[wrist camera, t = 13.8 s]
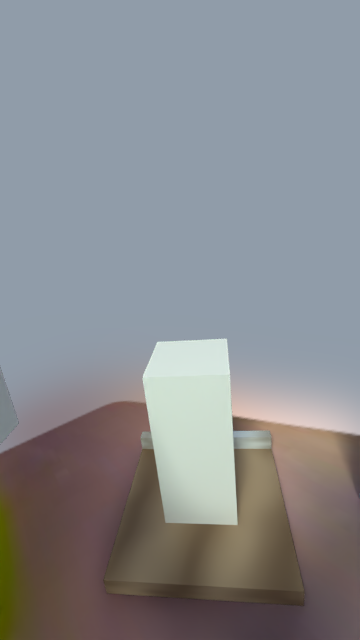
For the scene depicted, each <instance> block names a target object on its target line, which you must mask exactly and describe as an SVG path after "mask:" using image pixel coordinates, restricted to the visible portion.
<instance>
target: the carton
mask: <svg viewBox="0 0 360 640" xmlns="http://www.w3.org/2000/svg"><path fill="white" fill-rule="evenodd" d="M143 384H144V390H145V397H146V403H147V409H148V416H149V422H150V428H151V435H152V441H153V447H154V453H155V460H156V466H157V472H158V479H159V485H160V491H161V497H162V504H163V510H164V516H165V523H189V524H221V525H238V522H237V503H236V483H235V463H234V444H233V424H232V405H231V386H230V370H229V359H228V347H227V339H210V340H190V341H170V342H157V344H156V347H155V349H154V352H153V354H152V357H151V359H150V361H149V363H148V366H147V368H146V370H145V373H144V375H143Z"/></svg>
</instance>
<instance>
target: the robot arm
mask: <svg viewBox="0 0 360 640" xmlns="http://www.w3.org/2000/svg"><path fill="white" fill-rule="evenodd" d="M18 424H19V422H18V418H17V416H16V413H15V410H14V406H13V403H12V400H11V398H10V394H9V391H8V388H7V385H6V382H5V379H4V377H3V373H2V370H1V367H0V444H1V443H2V442H3V441H4V440H5V439H6V437H7V436H8V435H9V434H10V433H11V432H12V431H13V430H14V428H15V427H16V426H17V425H18Z"/></svg>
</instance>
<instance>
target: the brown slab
mask: <svg viewBox="0 0 360 640" xmlns="http://www.w3.org/2000/svg"><path fill="white" fill-rule="evenodd" d="M141 443H142V452H141V456H140V459H139V462H138V466H137V469H136V472H135V476H134V479H133V482H132V486H131V489H130V492H129V496H128V499H127V502H126V506H125V509H124V512H123V516H122V519H121V523H120V526H119V529H118V533H117V536H116V539H115V543H114V546H113V549H112V553H111V556H110V559H109V563H108V566H107V569H106V573H105V576H104V579H103V581H104V584H105V588H106V592H107V593H109V594H125V595H141V596H157V597H172V598H188V599H204V600H220V601H236V602H251V603H267V604H283V605H299V606H304V593H305V591H304V587H303V583H302V578H301V574H300V570H299V565H298V561H297V557H296V553H295V548H294V544H293V540H292V535H291V531H290V527H289V523H288V518H287V514H286V510H285V505H284V501H283V497H282V492H281V488H280V484H279V480H278V475H277V471H276V467H275V462H274V458H273V454H272V449H271V434H270V431H233V444H234V463H235V483H236V503H237V522H238V525H221V524H189V523H165V516H164V510H163V504H162V497H161V491H160V485H159V479H158V472H157V466H156V460H155V453H154V447H153V441H152V435H151V432H142V435H141Z"/></svg>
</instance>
